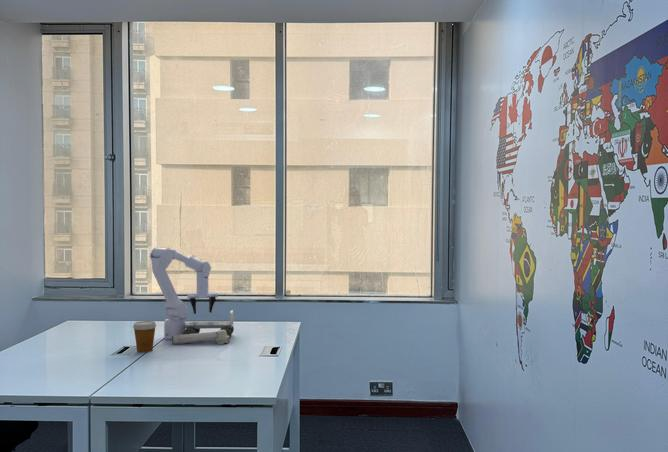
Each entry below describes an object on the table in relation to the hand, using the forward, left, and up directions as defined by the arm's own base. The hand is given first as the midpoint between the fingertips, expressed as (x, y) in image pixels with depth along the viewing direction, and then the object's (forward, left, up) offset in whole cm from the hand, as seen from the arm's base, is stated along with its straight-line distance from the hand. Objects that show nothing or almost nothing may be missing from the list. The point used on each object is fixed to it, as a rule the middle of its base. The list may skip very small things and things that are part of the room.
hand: (202, 312), depth 281 cm
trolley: (+5, -15, -9) cm, 18 cm away
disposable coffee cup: (-19, -37, -10) cm, 43 cm away
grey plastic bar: (+3, -25, -10) cm, 27 cm away
